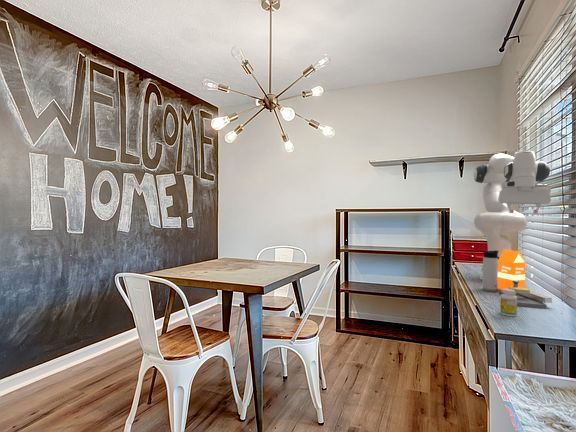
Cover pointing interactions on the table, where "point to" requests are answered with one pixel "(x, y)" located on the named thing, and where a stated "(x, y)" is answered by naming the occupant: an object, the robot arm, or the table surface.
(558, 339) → the table surface
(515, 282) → the arm link
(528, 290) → the keeper clip
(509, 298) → the supplement bottle
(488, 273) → the travel mug
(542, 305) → the base plate
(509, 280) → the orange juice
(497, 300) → the table surface
